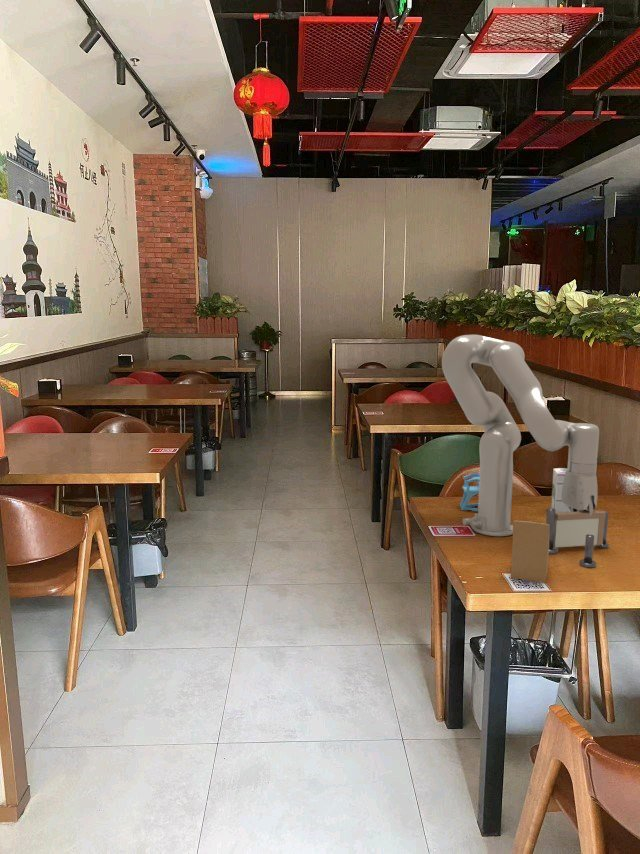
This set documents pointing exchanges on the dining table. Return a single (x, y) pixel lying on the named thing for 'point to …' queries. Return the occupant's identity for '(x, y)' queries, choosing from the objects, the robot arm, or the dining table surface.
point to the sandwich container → (530, 551)
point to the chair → (470, 492)
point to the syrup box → (558, 490)
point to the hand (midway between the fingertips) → (577, 530)
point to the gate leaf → (578, 528)
